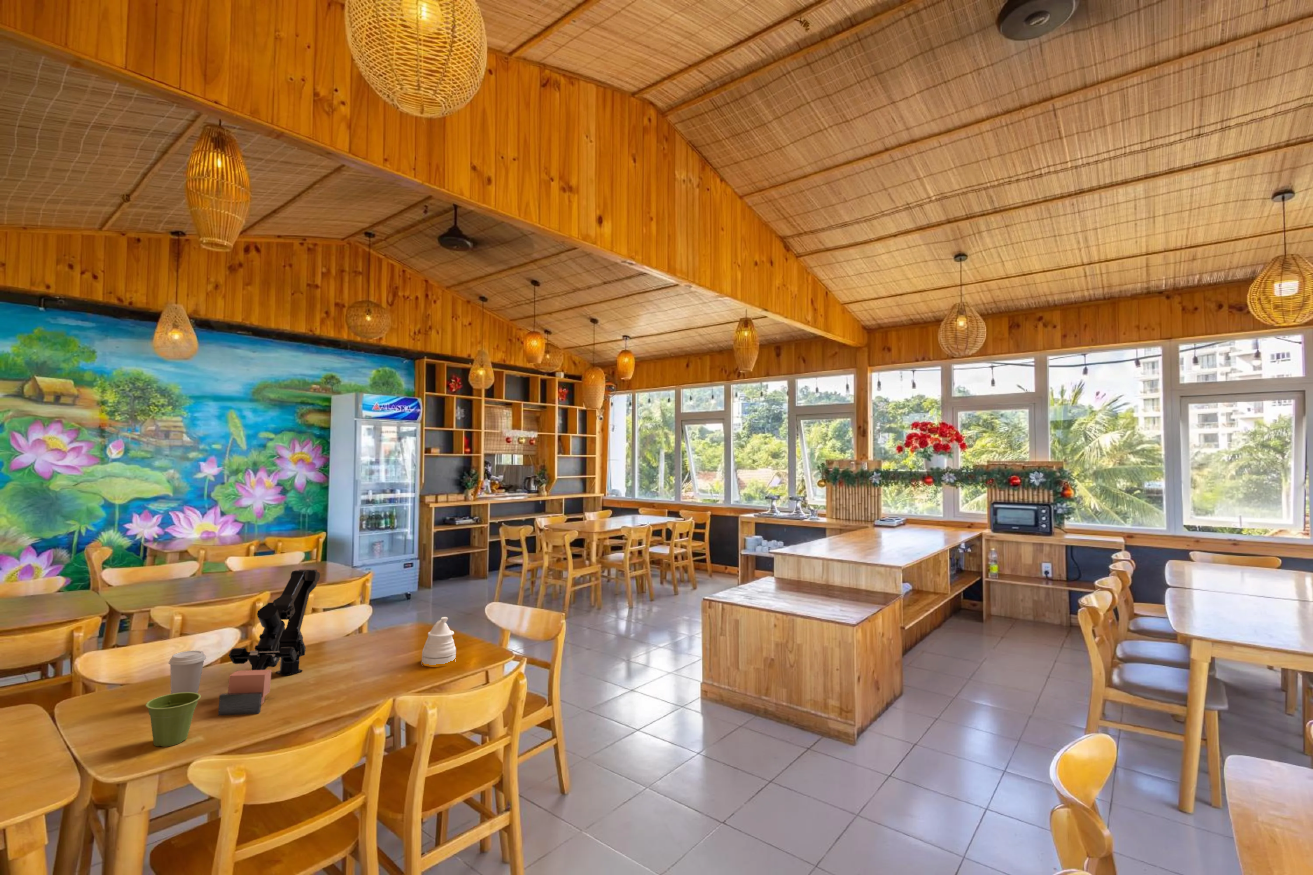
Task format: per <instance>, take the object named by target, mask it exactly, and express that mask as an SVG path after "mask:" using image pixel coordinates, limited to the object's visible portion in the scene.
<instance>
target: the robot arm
mask: <svg viewBox="0 0 1313 875" xmlns="http://www.w3.org/2000/svg"><path fill="white" fill-rule="evenodd" d="M320 578H321V572H318V569H298V570H297V569H295V570H292V572H290V578H289V580H288V582H287V583H286V586H285V587H284V589H283V591H282V592H281V594H280V596H279V597H277V598H276V599H274V600H273V602H268V603H267V604H266V605H264V606H262V607H261V608H259V610H258V611H257V613H256V615H257V618H258V621H259V623H260V625H261V627H262V628H263V631H262V633H260V635H259V637H258V638H259V641H258V643H257V644H256V645H255V646H254V650H250V651H248V650H247V648H246V647H234V648H233V647H232V648H231V650H230V651H229V654H228V657H229V658H230V660H231V663H232V664H233V665H238V664H239V665H243V664H246V663H247V662H248V661H249V664H250V665H251V670H267V668H268V667H269V668H270V667H271V668H275V667H276V666H277V665H278V663H280V664H279V667H280V668H279V670H276V671H275V674H278V675H281V676H284V677H287V676H290V675H294V674H299V673H301V672H303V669H300V658H301V657H302V656H305V655H306V645H305V642H304V637H303V634H302V631H301V628H302V624H303V621H304V618H305V612H306V609H307V604H308V601H309V597H310V594H311V593H312V591H314V589H316V587H317V584H318V582H319V581H320ZM285 620H288V621H287V624H285V622H284V621H285Z"/></svg>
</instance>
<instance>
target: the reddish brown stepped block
mask: <svg viewBox="0 0 1313 875" xmlns="http://www.w3.org/2000/svg"><path fill="white" fill-rule="evenodd" d="M271 681H272V669H265V670H252V669H251V670H249V669H248V670H247V669H246V670H236V671H234V672H232V673H231V674H230V675H229V677H228V687H227V693H252V692H262V699H261V705H263V704H264V703H265V698H266V696H267V695H269V693H270V692H271V683H272V682H271Z"/></svg>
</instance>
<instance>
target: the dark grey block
mask: <svg viewBox="0 0 1313 875" xmlns="http://www.w3.org/2000/svg"><path fill="white" fill-rule="evenodd" d="M261 699H262V692H252V693H228V692H227V693H225V692H224V693H221V694H220V695H219V701H218V712H217V715H218V716H235V715H236V716H237V715H240V716H241V715H242V716H243V715H259V714H260V713H261V710H262V704H261Z"/></svg>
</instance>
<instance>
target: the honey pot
mask: <svg viewBox="0 0 1313 875" xmlns="http://www.w3.org/2000/svg"><path fill="white" fill-rule="evenodd" d="M448 620H449V618H448V617H447V616H442V617H441V618H440V620H439V619H438V620H437V622H435V623H434V625H433V626H432V628H431V630H430V631H428V632H427V639H426V640H425V643H424V647H423V648H422V653H421V663H422V662H423V663H424V664H429V665H436V664H445V663H448V662H450V661H453V660H454V659H455V658H457V657H456V656H457V655H456V654H457V646H455V640H454V639H453V635H455V632H454V631H453V630H451V629H450V627H449V626H448V623H447V621H448ZM455 660H456V659H455Z"/></svg>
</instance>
